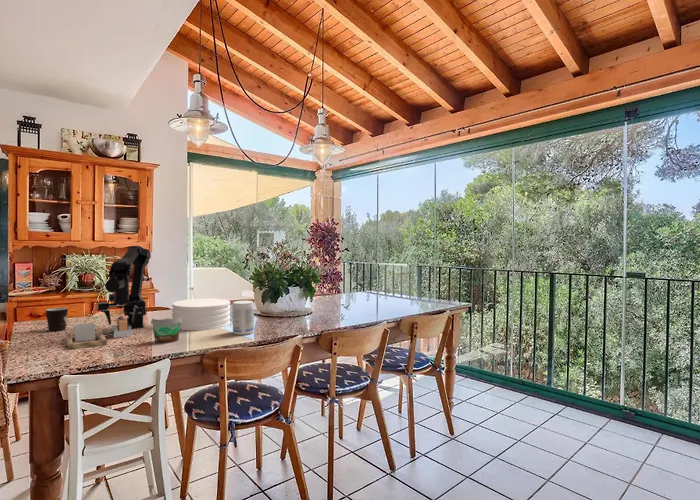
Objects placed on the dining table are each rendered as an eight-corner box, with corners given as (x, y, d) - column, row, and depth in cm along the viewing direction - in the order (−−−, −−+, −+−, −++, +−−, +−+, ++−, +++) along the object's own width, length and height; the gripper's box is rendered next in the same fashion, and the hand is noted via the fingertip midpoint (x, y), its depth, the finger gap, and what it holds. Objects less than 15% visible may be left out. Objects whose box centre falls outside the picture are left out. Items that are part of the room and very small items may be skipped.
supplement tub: (252, 330, 201) (252, 299, 201) (254, 334, 192) (255, 302, 192) (231, 331, 198) (231, 300, 197) (233, 336, 189) (233, 303, 188)
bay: (101, 335, 186) (101, 331, 186) (106, 344, 170) (106, 340, 170) (66, 339, 179) (66, 334, 179) (68, 349, 163) (68, 344, 163)
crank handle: (123, 326, 191) (123, 315, 191) (127, 330, 184) (127, 319, 184) (116, 327, 189) (116, 316, 189) (119, 331, 182) (119, 319, 182)
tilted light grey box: (93, 336, 185) (93, 322, 185) (95, 339, 179) (95, 325, 179) (74, 338, 180) (74, 324, 180) (75, 341, 175) (75, 327, 175)
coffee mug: (56, 332, 191) (56, 311, 190) (41, 331, 192) (40, 310, 192) (78, 327, 202) (77, 307, 202) (63, 326, 204) (62, 306, 203)
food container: (151, 345, 171) (151, 321, 171) (151, 341, 177) (150, 318, 176) (183, 342, 177) (183, 318, 177) (182, 338, 182) (182, 316, 182)
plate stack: (241, 323, 217) (241, 301, 217) (196, 333, 194) (196, 308, 194) (206, 317, 232) (206, 296, 232) (160, 325, 209) (160, 303, 209)
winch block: (129, 332, 192) (129, 323, 192) (131, 335, 186) (131, 326, 186) (101, 336, 185) (101, 326, 185) (103, 339, 180) (103, 328, 180)
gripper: (141, 286, 198) (141, 318, 199) (95, 288, 187) (95, 323, 188) (145, 288, 189) (145, 322, 190) (98, 291, 178) (98, 327, 179)
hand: (121, 323), depth 187 cm, fingers open, 9 cm apart
